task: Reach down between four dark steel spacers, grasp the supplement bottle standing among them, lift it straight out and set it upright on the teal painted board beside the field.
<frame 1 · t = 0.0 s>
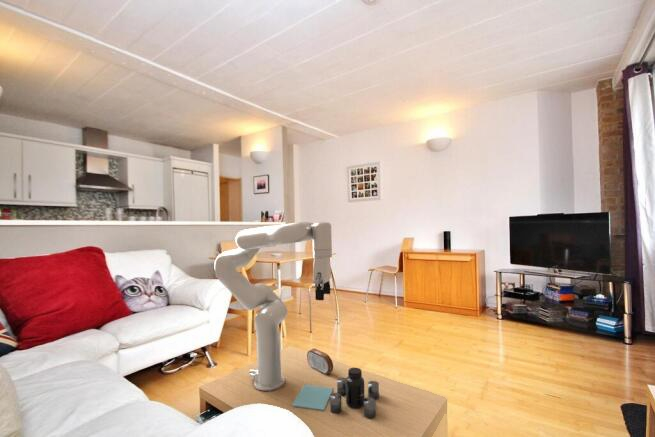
hand: (323, 296, 121), 37 cm above the table, tool pointing down, fingers open, 9 cm apart
spacer back right: (373, 396, 115), on the table
tin: (319, 370, 137), on the table
teal board: (313, 397, 116), on the table
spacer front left: (335, 410, 108), on the table
supplement bottle: (355, 403, 112), on the table
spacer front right: (370, 415, 105), on the table
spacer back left: (342, 392, 119), on the table
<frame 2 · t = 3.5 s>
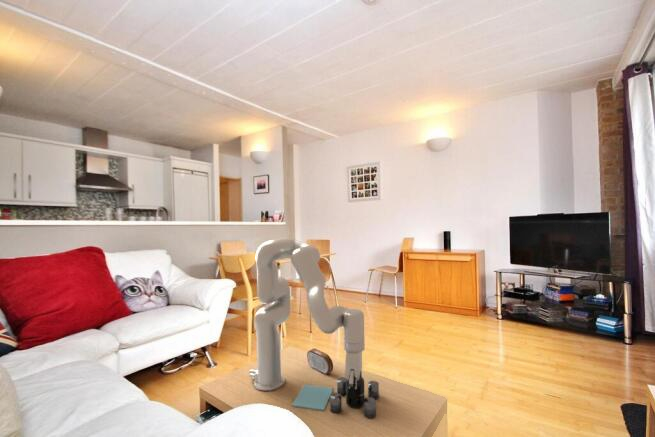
hand: (355, 392, 112), 4 cm above the table, tool pointing down, fingers closed on supplement bottle, 6 cm apart
supplement bottle: (355, 403, 112), on the table, touching gripper
everything else where it was.
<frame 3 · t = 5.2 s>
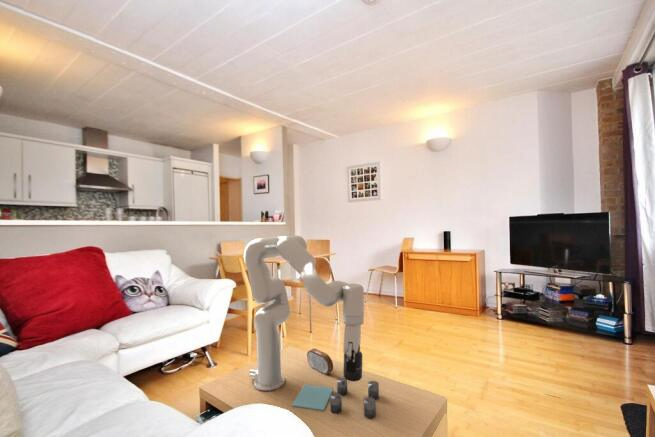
hand: (352, 366, 112), 13 cm above the table, tool pointing down, fingers closed on supplement bottle, 6 cm apart
supplement bottle: (352, 377, 112), point 9 cm above the table, touching gripper
everything else where it was.
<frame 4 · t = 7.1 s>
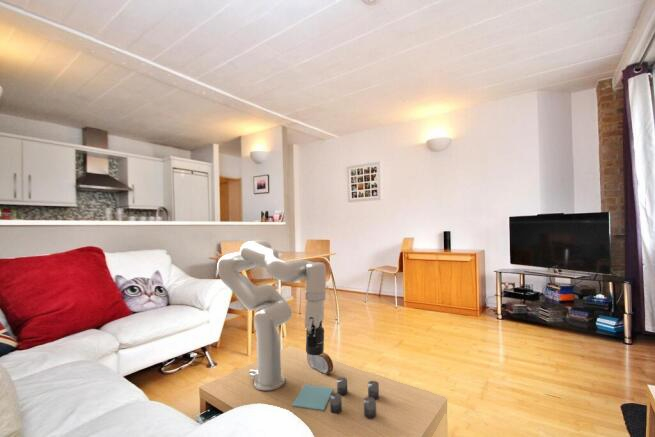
hand: (314, 342, 116), 21 cm above the table, tool pointing down, fingers closed on supplement bottle, 6 cm apart
supplement bottle: (314, 352, 116), point 17 cm above the table, touching gripper
everything else where it was.
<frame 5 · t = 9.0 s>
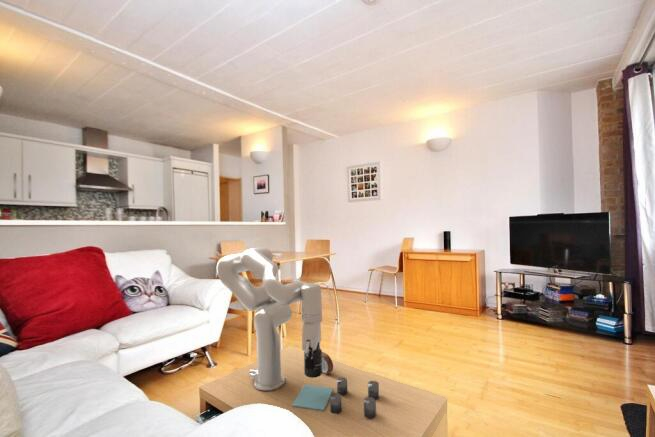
hand: (313, 363, 116), 13 cm above the table, tool pointing down, fingers closed on supplement bottle, 6 cm apart
supplement bottle: (313, 374, 116), point 9 cm above the table, touching gripper
everything else where it was.
when the fingers open (6 cm above the table, at t = 10.8 s): supplement bottle drops 2 cm, resting on teal board.
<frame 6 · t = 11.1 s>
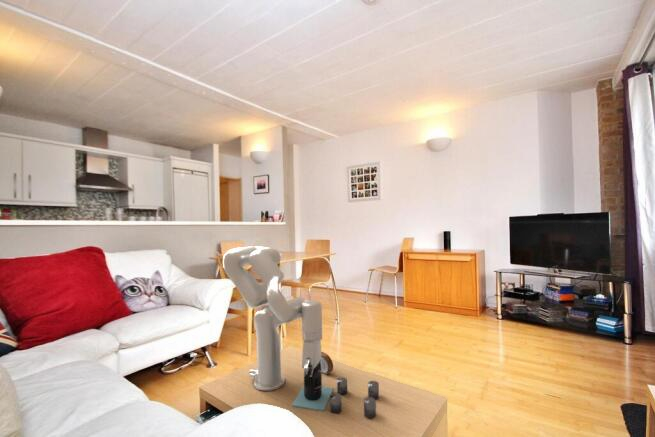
hand: (313, 379, 116), 7 cm above the table, tool pointing down, fingers open, 9 cm apart
supplement bottle: (313, 396, 116), resting on teal board
everything else where it was.
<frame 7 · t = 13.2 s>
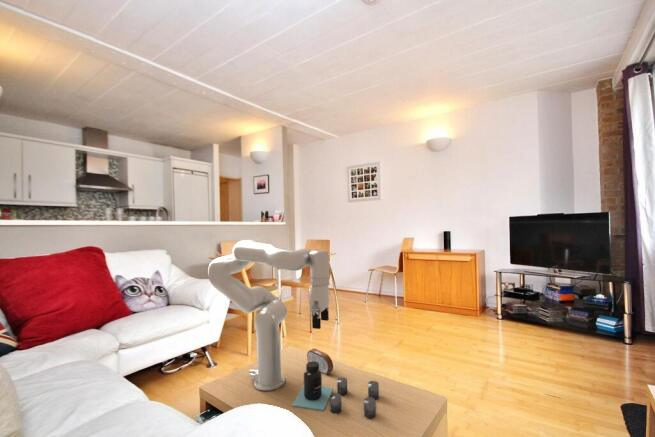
hand: (320, 324, 122), 26 cm above the table, tool pointing down, fingers open, 9 cm apart
nothing on the table moved.
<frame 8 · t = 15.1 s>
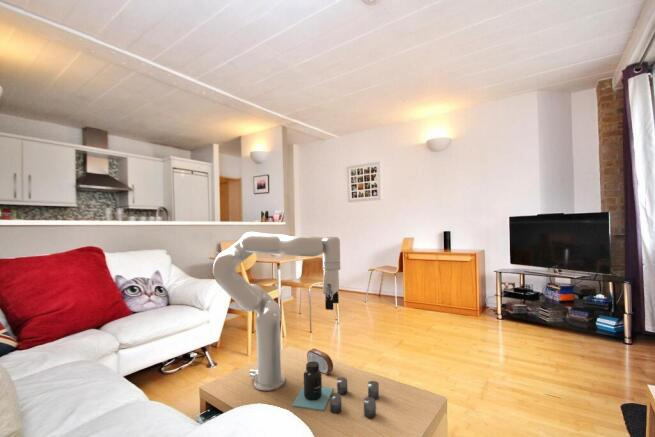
hand: (332, 306, 130), 30 cm above the table, tool pointing down, fingers open, 9 cm apart
nothing on the table moved.
at the end: supplement bottle inside the target area on the teal board (0.4 cm from its centre), point 0.3 cm above the teal board's base; supplement bottle tilted 0°; the gripper is holding nothing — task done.
